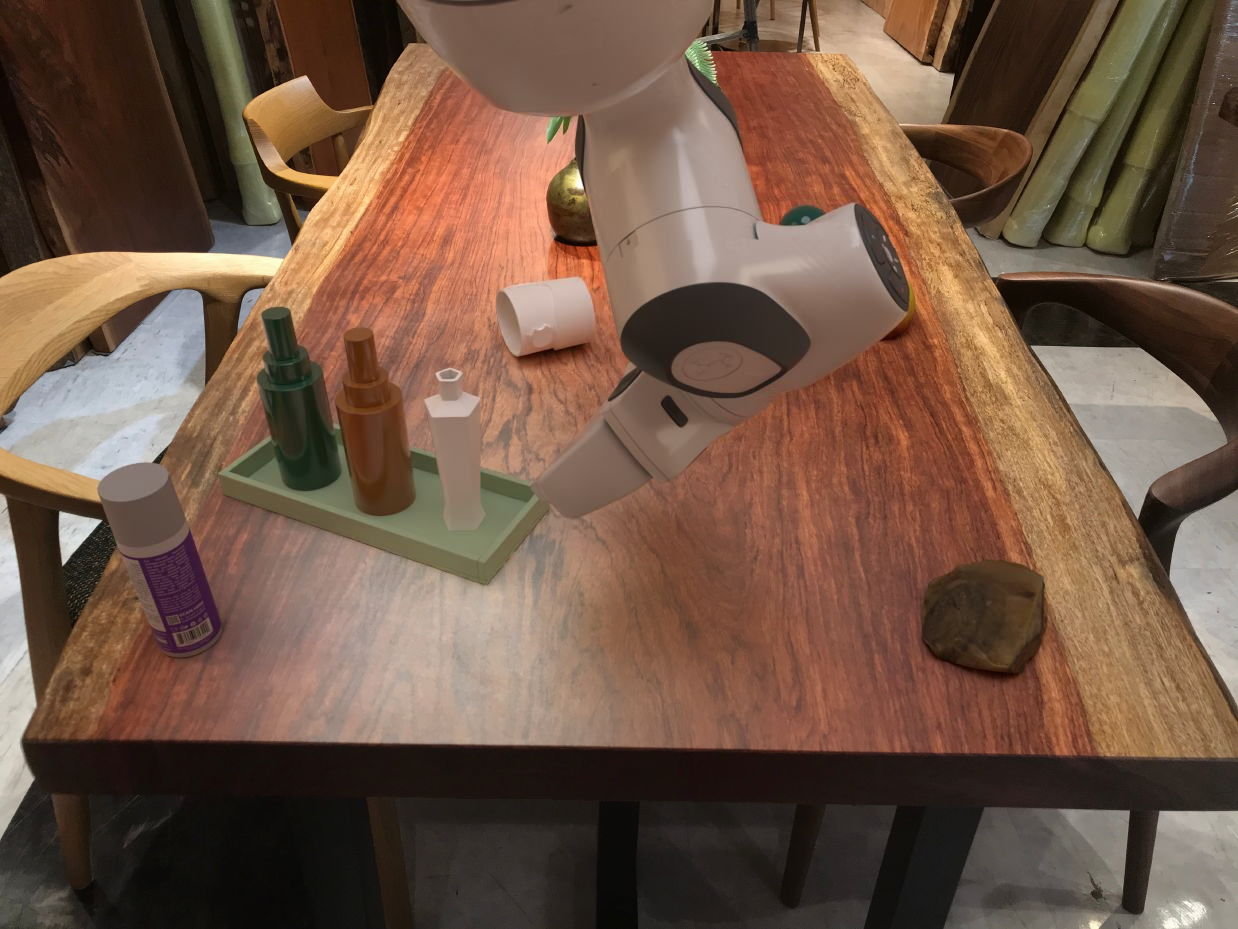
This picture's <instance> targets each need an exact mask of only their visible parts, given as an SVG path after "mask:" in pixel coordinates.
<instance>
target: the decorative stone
mask: <svg viewBox="0 0 1238 929" xmlns="http://www.w3.org/2000/svg"><path fill="white" fill-rule="evenodd" d="M1044 580H1045V577H1044V576H1043V575H1041V574H1040V573H1039V572H1036V570H1033V569H1032V568H1030V567H1029V566H1027V565H1024V564H1022V563H1019V562H1015V561H1008V560H1005V559H997V560H995V559H985V560H979V561H973V562H970V563H967V564H957V565H955V567H954V568H953V569H952V570H951V571H950V572H947V573H945V574H943V575H939V576H937V577H935V578H934V579H932V580H931V581H929V583H928V584H927V589H926V591H925V593H924V595H923V607H922V610H921V614H920V617H921V625H922V634H921V637H922V639H923V641H924V642H925V643H926V644H927V645H928V646H929V647H930V650H931V651H932V652H933V654H935V655H936V656H937V657H938V658H939V659H940V660H942V661H947V662H951V663H953V664H955V665H958V666H961V667H968V668H972V669H977V670H983V671H990V672H998V673H1009V674H1019V673H1021V672H1023V671H1024V669H1025V667H1026V665H1027V663H1028V661H1029V660H1030V659H1031V658H1032V657H1035V655H1036V654H1037V653H1038V652H1039V650H1040V648H1041V645H1042V640H1043V636H1044V634H1045V633H1046V631H1047V627H1048V612H1049V609H1048V607H1049V606H1048V603H1047V601H1046V598H1045V589H1046V583H1045V581H1044Z"/></svg>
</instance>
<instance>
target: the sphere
mask: <svg viewBox="0 0 1238 929" xmlns="http://www.w3.org/2000/svg"><path fill="white" fill-rule="evenodd" d="M826 213H827V212H826V211H825V210H824V209H822V208H821V207H819V206H817V205H813V204H807V203H805V204H799V205H797V206H793V207H792V208H790V209H788V211H786V212H785V213H784V214H783V216H781V218H780V220H779V222H778V225H781V226H799V225H806V224H808V223H809V222H811V221H813V220H815V219H817V218H819V217H820V216H822V215H824V214H826Z"/></svg>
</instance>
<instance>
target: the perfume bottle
mask: <svg viewBox="0 0 1238 929" xmlns="http://www.w3.org/2000/svg"><path fill="white" fill-rule="evenodd" d="M463 374H464V373H463V372H462V371H461V370H458V369H455V368H452V367H447V368H445V369H441V370H439V371H436V372H435V376H436V380H437V384H438V393H437V394H434V395H432V396H429V397H426V398H424V400H423V401H424V405H425V410H426V416H427V419H428V425H429V430H430V434H431V439H432V440H431V441H432V445H433V448H434V453H435V455H436V460H437V465H438V470H439V475H440V480H441V485H442V490H443V495H444V500H445V506H444V511H443V518H444V521H445V523H446V526H447V528H448V530H449V531H470V530H477V529H478V527H479V525H480V524H481V522H482V520H483V519H484V517H485V515H486V513H485V511H484V509H483V506H482V504H481V502H480V467H481V398H480V397H479V396H476V395H474V394H472V393H468V392H465V391H463V384H462V383H463V381H462V380H463V379H462V376H463Z"/></svg>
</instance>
